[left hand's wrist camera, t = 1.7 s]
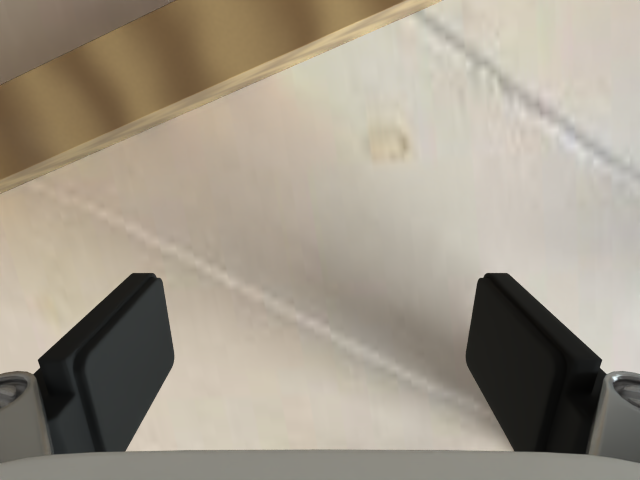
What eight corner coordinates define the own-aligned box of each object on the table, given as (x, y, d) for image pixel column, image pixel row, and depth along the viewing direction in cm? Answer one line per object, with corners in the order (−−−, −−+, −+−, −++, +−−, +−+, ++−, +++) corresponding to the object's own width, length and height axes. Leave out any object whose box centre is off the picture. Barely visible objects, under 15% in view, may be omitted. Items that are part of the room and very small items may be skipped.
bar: (608, -162, 25) (715, -261, 18) (617, -76, 27) (718, -138, 20) (-118, 177, 33) (-232, 196, 27) (-79, 228, 35) (-176, 258, 28)
